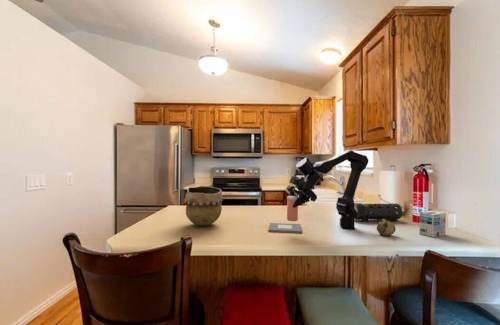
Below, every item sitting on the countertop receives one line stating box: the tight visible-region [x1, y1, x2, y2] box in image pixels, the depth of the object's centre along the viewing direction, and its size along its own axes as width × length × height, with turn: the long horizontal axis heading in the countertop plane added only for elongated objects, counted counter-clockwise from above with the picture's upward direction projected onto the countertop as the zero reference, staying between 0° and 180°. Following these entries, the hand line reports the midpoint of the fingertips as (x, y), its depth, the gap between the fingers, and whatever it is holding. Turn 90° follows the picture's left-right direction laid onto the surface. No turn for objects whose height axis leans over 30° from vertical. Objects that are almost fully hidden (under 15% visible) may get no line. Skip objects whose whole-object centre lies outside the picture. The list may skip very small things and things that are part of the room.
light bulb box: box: [418, 210, 447, 238], centre depth 128 cm, size 11×7×11 cm, turn 117°
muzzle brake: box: [354, 202, 403, 222], centre depth 156 cm, size 10×28×10 cm, turn 94°
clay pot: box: [182, 185, 224, 227], centre depth 140 cm, size 21×21×20 cm
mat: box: [267, 222, 303, 234], centre depth 135 cm, size 16×14×1 cm
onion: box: [376, 218, 397, 237], centre depth 126 cm, size 8×8×8 cm
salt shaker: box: [286, 195, 299, 222], centre depth 125 cm, size 5×5×11 cm
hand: (290, 206), depth 125 cm, fingers closed on salt shaker, 5 cm apart
